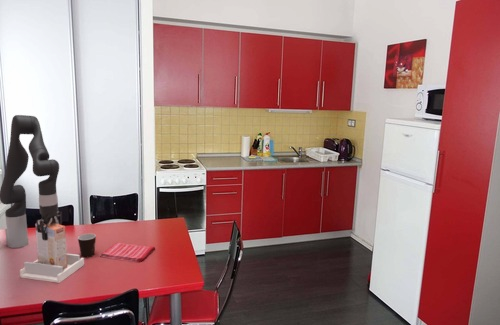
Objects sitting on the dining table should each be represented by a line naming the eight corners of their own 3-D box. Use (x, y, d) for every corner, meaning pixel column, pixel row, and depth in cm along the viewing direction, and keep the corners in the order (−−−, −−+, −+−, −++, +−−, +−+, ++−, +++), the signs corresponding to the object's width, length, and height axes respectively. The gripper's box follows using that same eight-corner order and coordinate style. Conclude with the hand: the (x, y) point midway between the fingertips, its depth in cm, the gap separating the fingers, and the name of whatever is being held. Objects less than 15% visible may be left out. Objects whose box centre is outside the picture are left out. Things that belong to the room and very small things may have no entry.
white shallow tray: (20, 277, 169) (19, 264, 168) (48, 260, 186) (47, 248, 185) (59, 282, 165) (58, 270, 164) (84, 264, 183) (83, 253, 181)
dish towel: (141, 263, 187) (141, 258, 186) (99, 258, 191) (99, 253, 191) (156, 249, 203) (156, 245, 203) (117, 245, 208) (117, 240, 207)
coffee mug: (90, 259, 189) (89, 240, 187) (75, 257, 190) (74, 238, 188) (103, 249, 200) (102, 232, 198) (89, 248, 202) (88, 230, 200)
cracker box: (68, 267, 175) (65, 225, 171) (56, 272, 169) (53, 229, 165) (49, 260, 181) (46, 219, 177) (37, 265, 176) (34, 223, 172)
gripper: (52, 197, 177) (54, 230, 180) (29, 206, 163) (32, 242, 166) (66, 199, 176) (68, 232, 179) (44, 208, 162) (47, 244, 165)
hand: (50, 236), depth 172 cm, fingers closed on cracker box, 7 cm apart
